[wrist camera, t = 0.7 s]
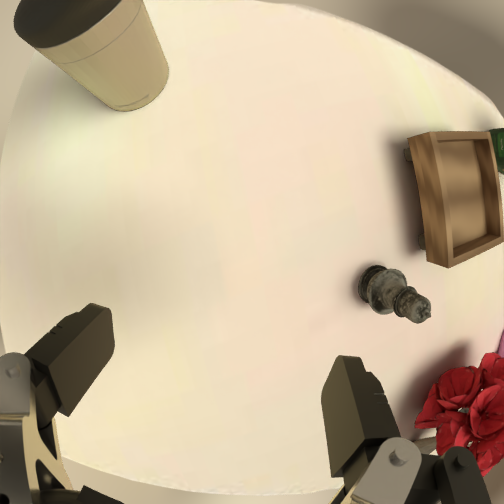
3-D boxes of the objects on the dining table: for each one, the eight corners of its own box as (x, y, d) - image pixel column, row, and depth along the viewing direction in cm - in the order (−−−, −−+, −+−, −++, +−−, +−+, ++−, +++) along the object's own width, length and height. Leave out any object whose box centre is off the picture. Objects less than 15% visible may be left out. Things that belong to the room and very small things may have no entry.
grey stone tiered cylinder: (397, 266, 35) (456, 291, 23) (385, 307, 35) (438, 343, 24) (363, 259, 34) (420, 284, 22) (350, 302, 35) (400, 342, 23)
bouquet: (439, 405, 51) (521, 334, 32) (452, 484, 32) (554, 434, 13) (372, 415, 49) (461, 338, 31) (379, 510, 31) (498, 481, 12)
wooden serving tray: (394, 142, 32) (429, 132, 24) (457, 138, 32) (489, 131, 25) (413, 256, 35) (448, 268, 27) (471, 235, 35) (503, 241, 28)
